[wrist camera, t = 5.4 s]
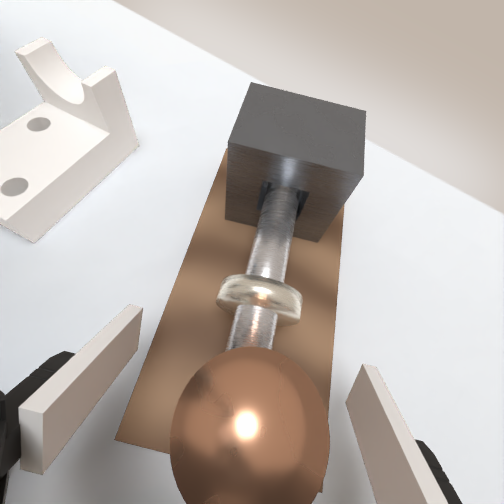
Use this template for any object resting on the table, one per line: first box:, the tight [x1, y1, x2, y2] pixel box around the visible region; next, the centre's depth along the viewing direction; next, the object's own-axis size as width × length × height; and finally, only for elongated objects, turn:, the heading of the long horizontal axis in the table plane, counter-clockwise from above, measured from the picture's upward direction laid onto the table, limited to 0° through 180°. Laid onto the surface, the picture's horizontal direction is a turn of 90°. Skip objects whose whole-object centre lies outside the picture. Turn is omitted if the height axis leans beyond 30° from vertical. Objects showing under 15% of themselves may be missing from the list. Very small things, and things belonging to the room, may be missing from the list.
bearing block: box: [225, 82, 366, 243], centre depth 20 cm, size 6×8×8 cm
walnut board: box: [114, 149, 344, 493], centre depth 21 cm, size 24×12×2 cm, turn 167°
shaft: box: [170, 182, 330, 504], centre depth 14 cm, size 17×5×10 cm, turn 167°
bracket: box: [0, 37, 139, 243], centre depth 22 cm, size 13×7×8 cm, turn 153°
